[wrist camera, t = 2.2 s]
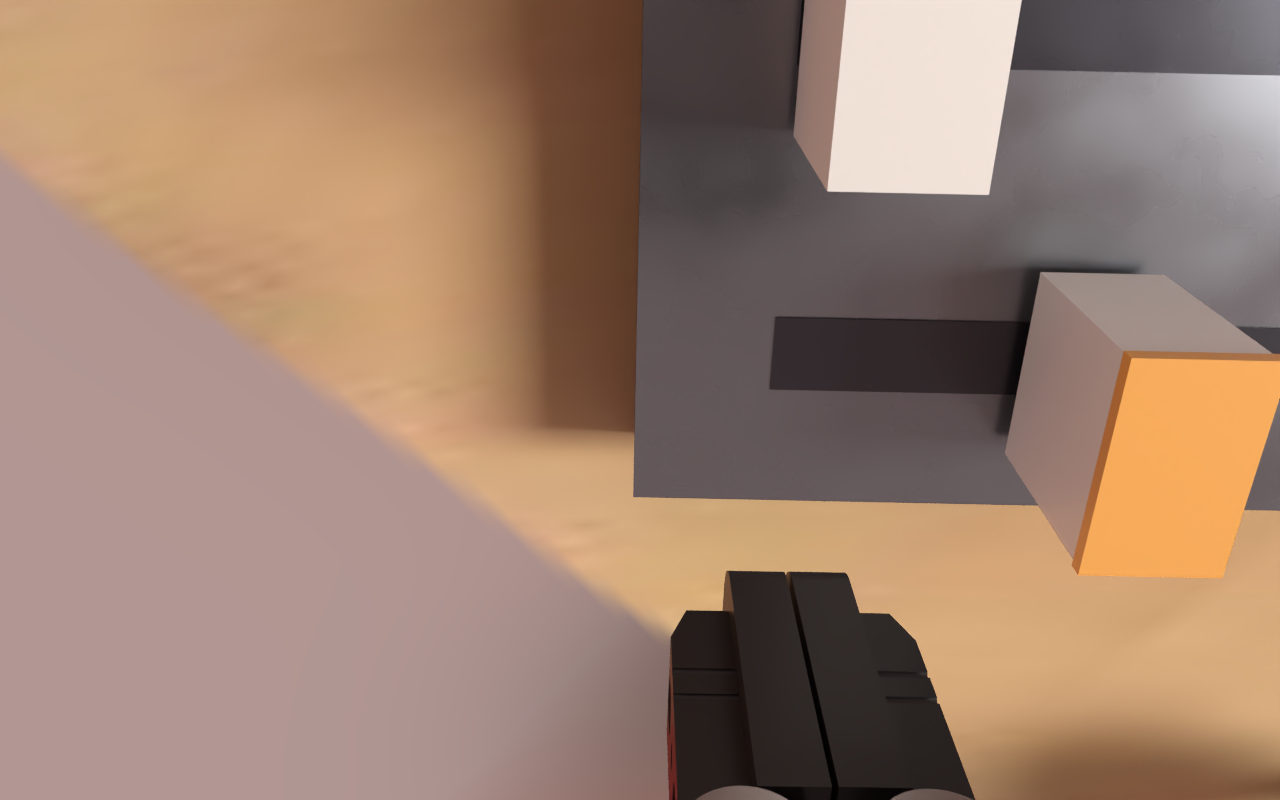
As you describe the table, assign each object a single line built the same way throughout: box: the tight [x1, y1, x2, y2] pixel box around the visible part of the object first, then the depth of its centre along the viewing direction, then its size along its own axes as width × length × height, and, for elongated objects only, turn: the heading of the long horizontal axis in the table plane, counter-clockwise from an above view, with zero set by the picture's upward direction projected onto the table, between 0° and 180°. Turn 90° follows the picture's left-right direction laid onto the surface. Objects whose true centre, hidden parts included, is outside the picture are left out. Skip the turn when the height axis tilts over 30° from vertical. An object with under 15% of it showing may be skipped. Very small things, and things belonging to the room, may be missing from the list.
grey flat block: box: [633, 0, 1280, 511], centre depth 20 cm, size 18×20×3 cm
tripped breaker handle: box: [1005, 272, 1280, 578], centre depth 19 cm, size 2×4×4 cm, turn 179°
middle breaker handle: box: [793, 0, 1022, 195], centre depth 16 cm, size 2×4×4 cm, turn 179°
